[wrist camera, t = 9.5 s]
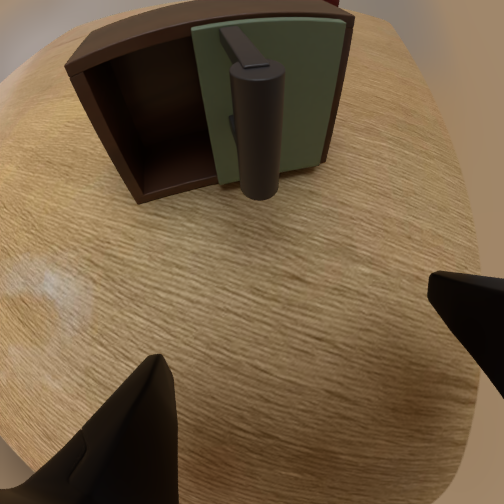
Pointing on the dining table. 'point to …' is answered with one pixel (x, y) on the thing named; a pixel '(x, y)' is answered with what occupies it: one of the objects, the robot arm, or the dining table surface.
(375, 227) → the dining table surface
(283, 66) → the door
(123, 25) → the cabinet
